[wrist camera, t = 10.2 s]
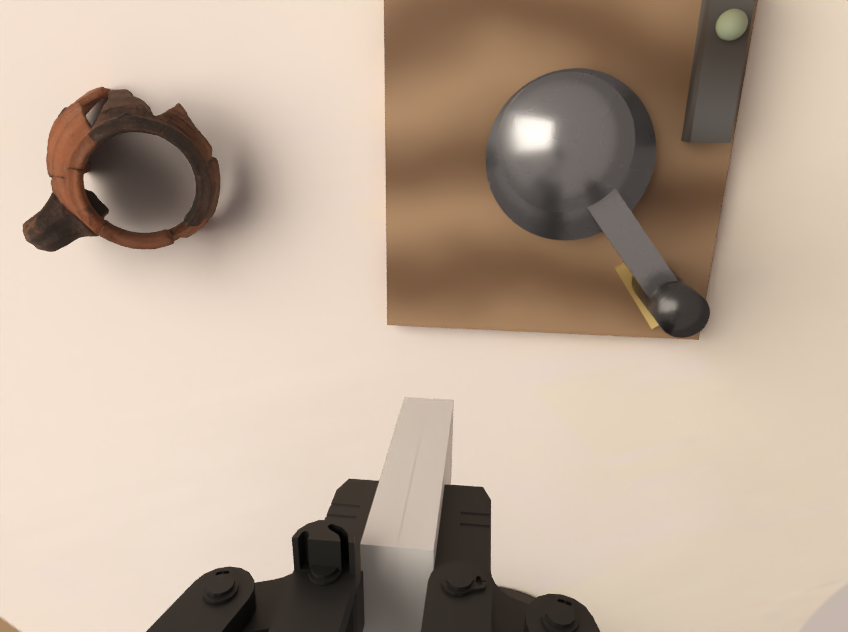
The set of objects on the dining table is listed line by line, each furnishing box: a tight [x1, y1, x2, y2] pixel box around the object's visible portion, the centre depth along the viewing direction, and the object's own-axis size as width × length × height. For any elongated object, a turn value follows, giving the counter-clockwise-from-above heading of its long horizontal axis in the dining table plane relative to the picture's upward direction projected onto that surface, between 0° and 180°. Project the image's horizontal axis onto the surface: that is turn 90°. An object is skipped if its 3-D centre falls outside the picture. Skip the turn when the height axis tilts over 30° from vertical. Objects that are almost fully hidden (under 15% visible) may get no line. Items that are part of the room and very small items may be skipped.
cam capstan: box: [485, 68, 710, 338], centre depth 31 cm, size 14×9×6 cm, turn 38°
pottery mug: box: [23, 87, 220, 252], centre depth 36 cm, size 12×10×8 cm
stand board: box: [384, 0, 757, 340], centre depth 33 cm, size 20×19×4 cm
